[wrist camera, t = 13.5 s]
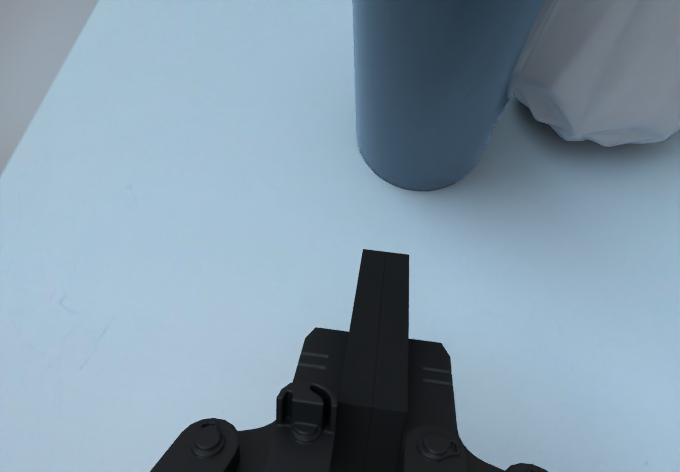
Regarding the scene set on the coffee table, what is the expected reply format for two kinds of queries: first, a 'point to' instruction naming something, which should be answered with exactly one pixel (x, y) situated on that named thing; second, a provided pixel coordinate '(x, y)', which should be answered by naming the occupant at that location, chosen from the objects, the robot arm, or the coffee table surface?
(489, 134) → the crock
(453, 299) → the coffee table surface
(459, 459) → the robot arm
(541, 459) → the coffee table surface
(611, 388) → the coffee table surface
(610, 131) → the vase
